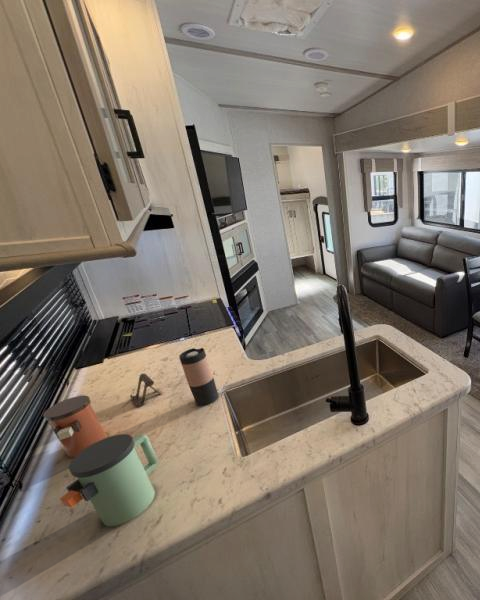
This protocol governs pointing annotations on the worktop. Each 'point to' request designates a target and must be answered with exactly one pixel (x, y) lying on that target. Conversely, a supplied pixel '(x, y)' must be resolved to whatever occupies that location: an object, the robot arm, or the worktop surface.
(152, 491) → the sage jug
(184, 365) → the travel mug
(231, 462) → the worktop surface
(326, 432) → the worktop surface
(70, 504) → the orange cube
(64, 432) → the button
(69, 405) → the terracotta jug
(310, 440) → the worktop surface
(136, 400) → the tablet stand
